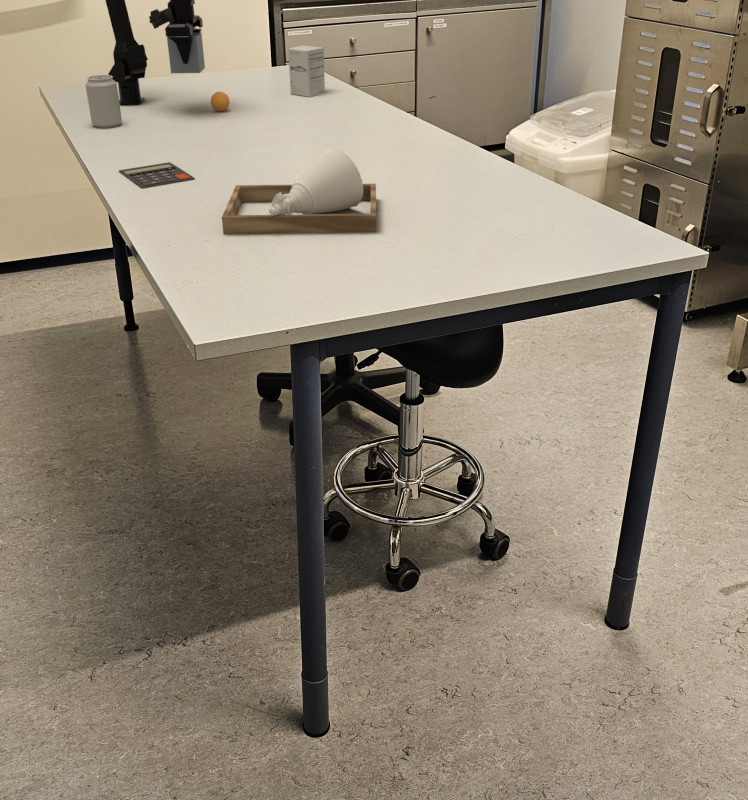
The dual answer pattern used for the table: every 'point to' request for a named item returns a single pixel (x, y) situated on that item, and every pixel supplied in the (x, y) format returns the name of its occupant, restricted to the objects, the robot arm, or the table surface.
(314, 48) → the supplement box
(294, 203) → the rocket engine
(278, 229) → the wooden tray
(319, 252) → the table surface
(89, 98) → the can
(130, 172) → the calculator
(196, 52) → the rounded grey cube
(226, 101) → the ball
